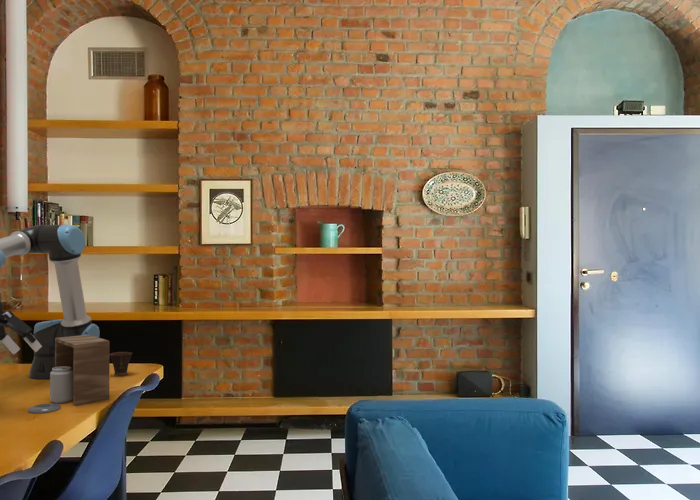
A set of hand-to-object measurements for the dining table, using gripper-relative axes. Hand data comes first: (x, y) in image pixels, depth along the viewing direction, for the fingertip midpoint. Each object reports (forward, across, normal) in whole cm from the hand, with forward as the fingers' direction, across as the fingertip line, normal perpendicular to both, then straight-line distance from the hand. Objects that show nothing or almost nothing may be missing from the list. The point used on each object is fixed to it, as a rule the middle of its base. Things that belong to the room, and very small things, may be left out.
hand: (27, 350), depth 209 cm
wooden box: (+26, +3, +2) cm, 26 cm away
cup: (+41, -16, +30) cm, 53 cm away
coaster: (+17, +6, -11) cm, 21 cm away
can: (+22, +1, -3) cm, 22 cm away
